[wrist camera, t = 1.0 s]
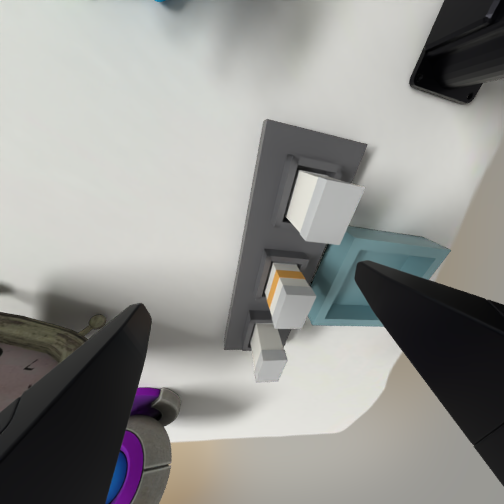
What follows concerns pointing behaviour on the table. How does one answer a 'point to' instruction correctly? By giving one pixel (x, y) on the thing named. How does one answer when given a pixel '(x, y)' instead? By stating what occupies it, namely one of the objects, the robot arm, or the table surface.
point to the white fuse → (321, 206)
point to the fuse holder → (280, 219)
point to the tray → (344, 266)
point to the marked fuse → (288, 295)
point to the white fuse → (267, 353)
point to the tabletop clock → (33, 351)
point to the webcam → (145, 449)
